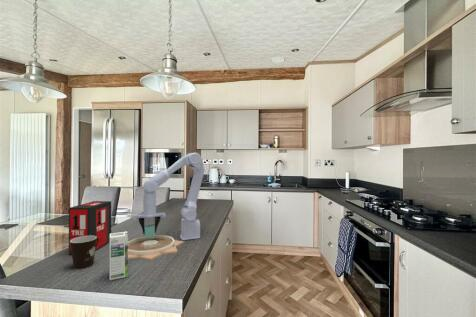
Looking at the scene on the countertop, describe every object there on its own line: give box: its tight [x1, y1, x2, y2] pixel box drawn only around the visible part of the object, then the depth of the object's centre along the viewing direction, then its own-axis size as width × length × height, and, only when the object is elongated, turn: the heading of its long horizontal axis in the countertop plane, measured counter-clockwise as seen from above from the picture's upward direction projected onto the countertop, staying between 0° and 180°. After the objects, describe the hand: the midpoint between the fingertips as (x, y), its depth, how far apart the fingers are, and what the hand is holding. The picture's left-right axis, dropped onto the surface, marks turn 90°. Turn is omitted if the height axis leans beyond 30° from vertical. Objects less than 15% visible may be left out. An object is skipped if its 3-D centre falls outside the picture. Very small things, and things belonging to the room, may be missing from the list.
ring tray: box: [128, 234, 185, 261], centre depth 110 cm, size 30×30×2 cm
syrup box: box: [108, 230, 129, 281], centre depth 83 cm, size 6×6×14 cm
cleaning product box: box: [68, 200, 112, 256], centre depth 110 cm, size 16×9×20 cm, turn 178°
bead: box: [144, 223, 156, 238], centre depth 116 cm, size 4×4×5 cm
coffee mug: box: [70, 236, 99, 270], centre depth 93 cm, size 12×9×10 cm
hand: (149, 233), depth 116 cm, fingers closed on bead, 4 cm apart
